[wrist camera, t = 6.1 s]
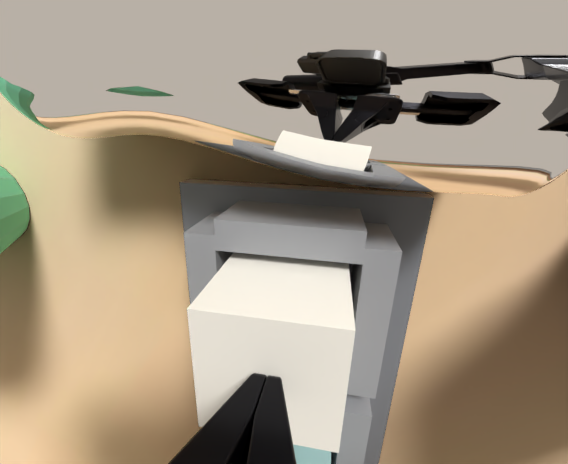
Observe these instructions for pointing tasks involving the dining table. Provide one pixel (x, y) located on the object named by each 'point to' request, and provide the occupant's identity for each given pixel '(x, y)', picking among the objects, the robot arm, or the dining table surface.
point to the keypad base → (334, 248)
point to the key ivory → (277, 339)
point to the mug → (11, 210)
